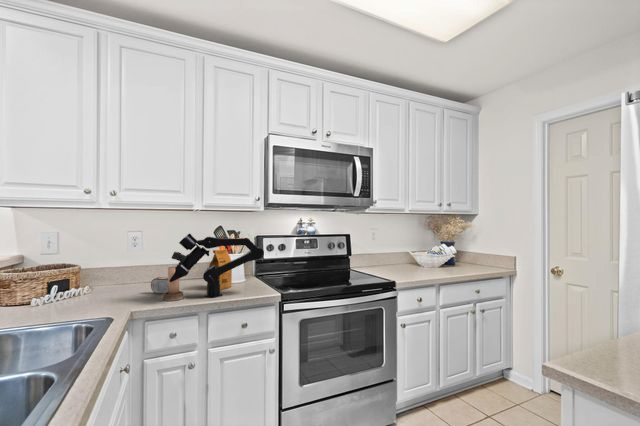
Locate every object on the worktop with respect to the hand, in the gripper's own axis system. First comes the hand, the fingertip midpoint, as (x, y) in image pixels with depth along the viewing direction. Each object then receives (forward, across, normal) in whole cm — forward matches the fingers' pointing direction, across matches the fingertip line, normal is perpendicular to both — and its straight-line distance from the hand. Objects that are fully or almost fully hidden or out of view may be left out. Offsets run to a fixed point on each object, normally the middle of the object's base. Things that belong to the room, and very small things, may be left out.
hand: (170, 280), depth 162 cm
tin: (+10, -15, +3) cm, 19 cm away
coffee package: (-10, -19, +23) cm, 32 cm away
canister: (+4, 0, +6) cm, 7 cm away
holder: (+6, 0, +7) cm, 9 cm away
